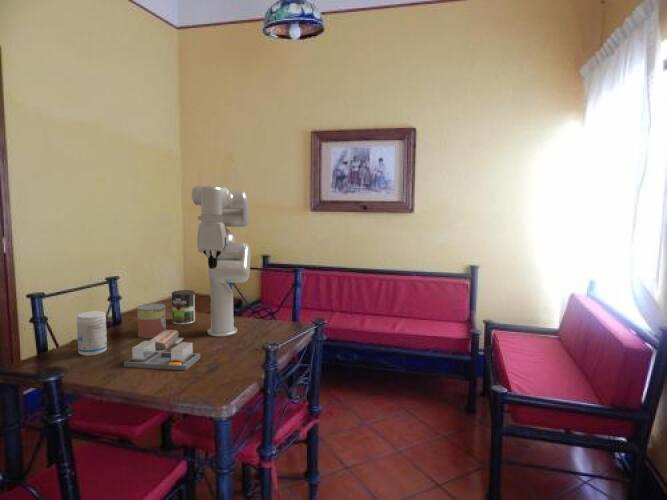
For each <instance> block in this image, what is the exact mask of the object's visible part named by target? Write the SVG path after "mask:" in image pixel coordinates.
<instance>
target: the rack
mask: <svg viewBox="0 0 667 500" xmlns="http://www.w3.org/2000/svg"><path fill="white" fill-rule="evenodd" d="M155 353H156V355H155V356H154V357H152V358H151V359H149V360H148V361H146V362H133V356H131V358H128V359H126V360H125V361H124V362H123V367H124V368H139V369H140V368H141V369H155V370H156V369H157V370H172V371H187V370H188V369H190V367H192V366H193V365H194V364H195V363H197V362H198V361H199V360H200V359H201V353H195V352H194V353H193V358H192V359H190V360H189V361H188V362H187V363H186V364H184V365H181V364H182V363H180V362H171V351H167V352H166V351H164V352H162V351H161V352H159V351H156V350H155Z"/></svg>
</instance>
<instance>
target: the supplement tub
mask: <svg viewBox="0 0 667 500" xmlns="http://www.w3.org/2000/svg"><path fill="white" fill-rule="evenodd" d="M76 318H77V319H76V327H77V328H76V329H77V330H76V331H77V349H78V350H77V351H78V354H80V355H82V356H88V357H89V356H97V355H100V354H102V353H105V351H107V350H108V349H107V348H108V345H107V344H108V340H107V335H108V334H107V317H106V312H104V311H101V310H100V311H99V310H93V311H92V310H91V311H85V312H81V313H79V314H77V316H76Z"/></svg>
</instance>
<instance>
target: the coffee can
mask: <svg viewBox="0 0 667 500" xmlns="http://www.w3.org/2000/svg"><path fill="white" fill-rule="evenodd" d="M195 293H196V291H194V290H188V289H181V290H175V291H172V292H171V307H172V308H171V310H172V324H175V325H190V324H193V323H195V322H196V310H195V309H196V306H195V305H196V303H195V299H196V298H195V296H196V295H195Z"/></svg>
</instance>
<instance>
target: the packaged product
mask: <svg viewBox="0 0 667 500" xmlns="http://www.w3.org/2000/svg"><path fill="white" fill-rule="evenodd" d="M179 332H180V331H178V330H177V329H166V330H164V331H162V332H161V333H159V334H158V335H157V336H155V337H152V338H150V340H149V341H155V351H159V352H168V350H167V349H170V347H171V346H172V345H174V344H180V343H181V342H183V340H184V337H179Z"/></svg>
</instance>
